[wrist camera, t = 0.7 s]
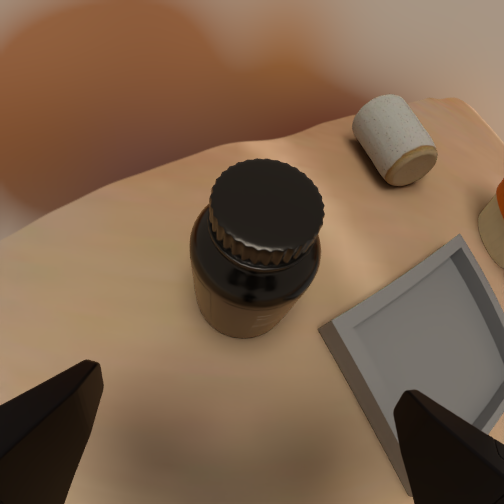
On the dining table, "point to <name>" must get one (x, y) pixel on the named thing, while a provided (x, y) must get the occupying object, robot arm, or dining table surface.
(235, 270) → the supplement bottle
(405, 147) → the ceramic mug
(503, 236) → the reusable coffee cup
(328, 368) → the dining table surface
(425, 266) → the tray
